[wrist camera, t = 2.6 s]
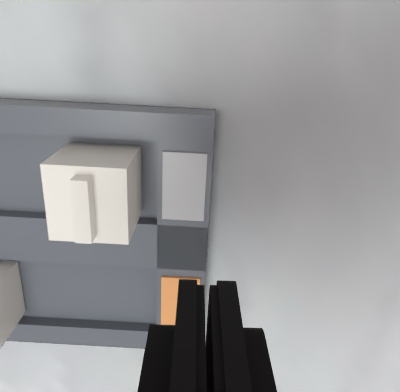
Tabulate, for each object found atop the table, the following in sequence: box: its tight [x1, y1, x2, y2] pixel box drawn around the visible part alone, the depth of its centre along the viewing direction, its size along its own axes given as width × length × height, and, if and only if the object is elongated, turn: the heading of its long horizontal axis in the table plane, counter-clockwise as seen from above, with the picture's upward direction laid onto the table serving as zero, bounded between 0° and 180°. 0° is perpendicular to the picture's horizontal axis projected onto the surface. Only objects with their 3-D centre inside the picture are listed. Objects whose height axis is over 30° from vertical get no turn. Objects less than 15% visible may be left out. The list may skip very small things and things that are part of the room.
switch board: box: [0, 98, 215, 349], centre depth 24 cm, size 20×16×2 cm
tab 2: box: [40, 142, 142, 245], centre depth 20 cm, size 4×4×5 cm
